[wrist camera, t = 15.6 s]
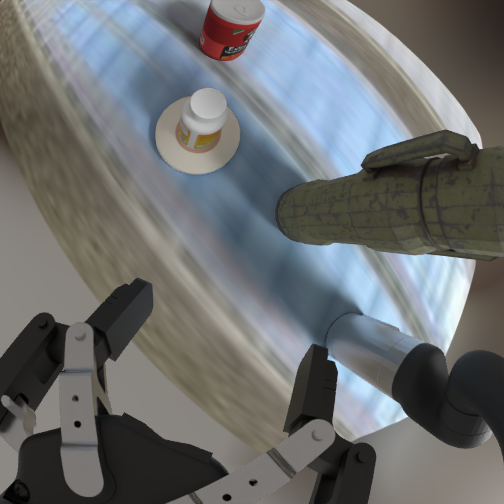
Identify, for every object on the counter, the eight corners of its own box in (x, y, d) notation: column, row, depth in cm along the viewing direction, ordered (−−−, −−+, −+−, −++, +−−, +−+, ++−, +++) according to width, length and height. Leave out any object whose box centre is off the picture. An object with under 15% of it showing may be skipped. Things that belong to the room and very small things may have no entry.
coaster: (231, 97, 37) (233, 92, 36) (243, 169, 39) (247, 166, 37) (152, 105, 34) (152, 100, 32) (160, 181, 35) (160, 179, 34)
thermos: (314, 259, 43) (541, 305, 10) (256, 215, 40) (521, 187, 7) (339, 214, 44) (553, 209, 11) (287, 169, 41) (515, 87, 8)
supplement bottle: (222, 124, 36) (241, 94, 26) (207, 156, 36) (221, 132, 26) (188, 109, 34) (197, 75, 25) (171, 141, 34) (174, 112, 25)
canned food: (223, 69, 36) (242, 29, 26) (188, 44, 34) (198, 1, 24) (252, 48, 37) (276, 10, 27) (219, 24, 35) (235, -16, 25)
